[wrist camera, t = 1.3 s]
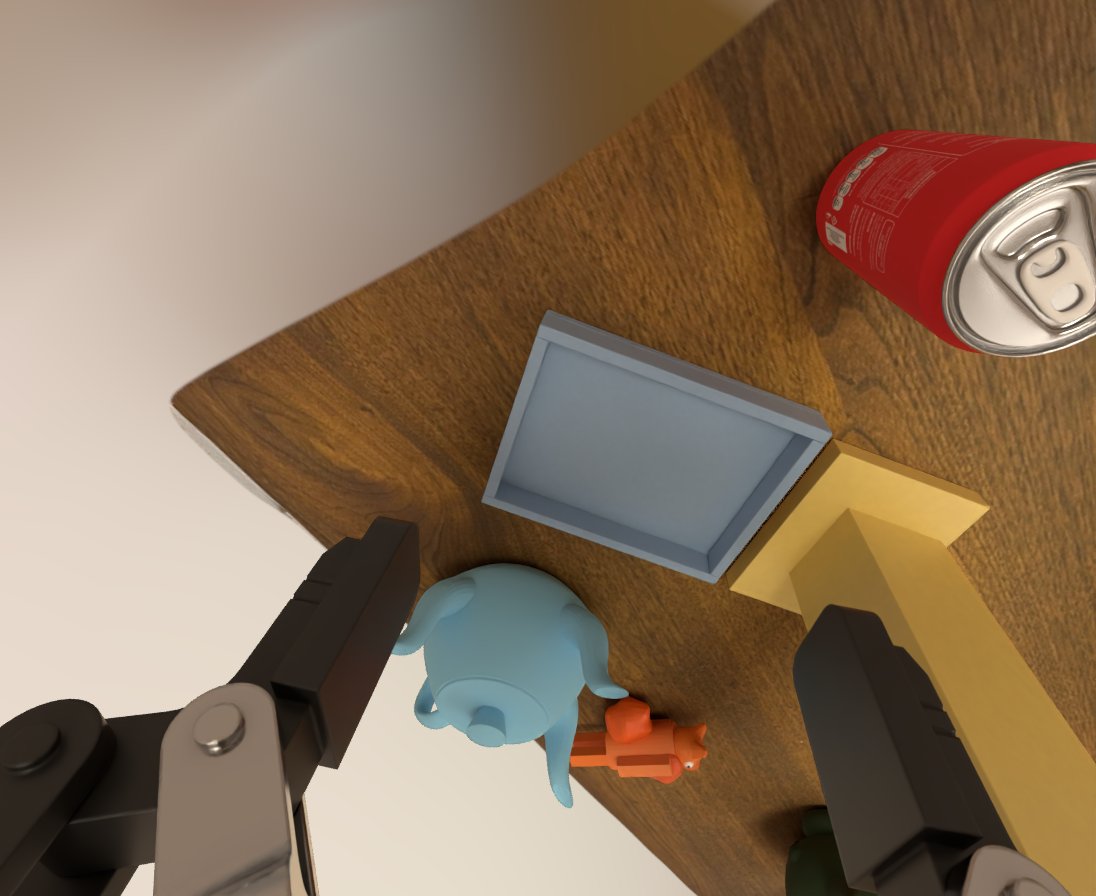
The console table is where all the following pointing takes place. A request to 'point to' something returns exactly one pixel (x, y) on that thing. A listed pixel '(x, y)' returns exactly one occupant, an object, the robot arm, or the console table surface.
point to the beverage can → (972, 235)
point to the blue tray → (646, 449)
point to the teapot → (509, 660)
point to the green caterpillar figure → (817, 861)
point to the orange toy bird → (640, 744)
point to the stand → (933, 635)
